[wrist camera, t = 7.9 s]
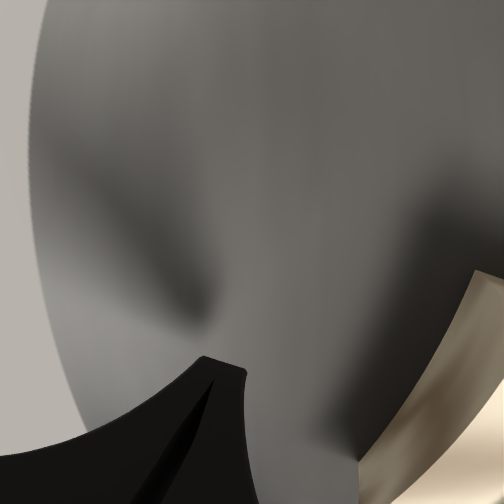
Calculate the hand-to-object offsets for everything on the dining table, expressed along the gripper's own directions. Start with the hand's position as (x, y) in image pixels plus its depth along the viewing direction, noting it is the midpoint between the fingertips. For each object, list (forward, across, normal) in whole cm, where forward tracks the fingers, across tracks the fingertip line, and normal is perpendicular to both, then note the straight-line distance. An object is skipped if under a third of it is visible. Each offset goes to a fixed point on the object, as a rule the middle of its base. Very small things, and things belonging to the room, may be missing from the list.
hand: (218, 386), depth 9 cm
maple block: (+2, -11, 0) cm, 11 cm away
